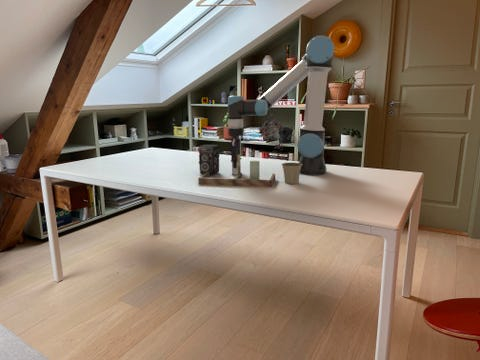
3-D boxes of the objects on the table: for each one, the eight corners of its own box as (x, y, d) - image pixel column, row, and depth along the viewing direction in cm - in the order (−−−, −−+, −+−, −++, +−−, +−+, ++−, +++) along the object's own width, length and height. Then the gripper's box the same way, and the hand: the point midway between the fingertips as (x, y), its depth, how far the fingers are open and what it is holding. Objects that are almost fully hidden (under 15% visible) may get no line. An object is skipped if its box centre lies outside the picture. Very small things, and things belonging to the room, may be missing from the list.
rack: (275, 179, 171) (275, 173, 171) (271, 187, 158) (272, 180, 157) (207, 177, 178) (206, 171, 177) (198, 184, 165) (198, 177, 164)
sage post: (260, 181, 168) (260, 160, 166) (258, 183, 164) (258, 162, 162) (250, 181, 169) (250, 160, 167) (249, 183, 165) (249, 162, 163)
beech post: (241, 173, 186) (241, 154, 183) (239, 175, 181) (239, 155, 179) (233, 173, 186) (232, 154, 184) (231, 175, 182) (230, 155, 180)
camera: (195, 175, 181) (194, 146, 178) (203, 171, 191) (202, 143, 188) (214, 177, 178) (213, 147, 175) (222, 172, 188) (221, 144, 185)
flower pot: (277, 182, 167) (277, 164, 165) (290, 179, 172) (291, 161, 170) (292, 186, 160) (292, 167, 157) (305, 182, 165) (306, 164, 163)
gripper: (232, 125, 187) (232, 169, 193) (224, 129, 171) (225, 176, 176) (246, 126, 186) (246, 169, 191) (239, 129, 169) (240, 177, 175)
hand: (236, 173), depth 184 cm, fingers closed on beech post, 4 cm apart
